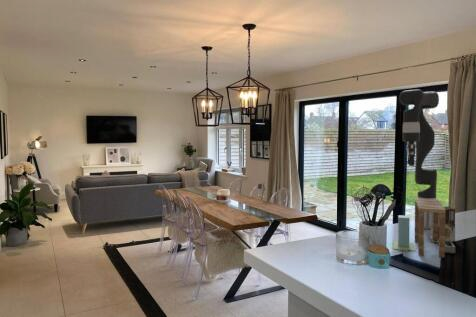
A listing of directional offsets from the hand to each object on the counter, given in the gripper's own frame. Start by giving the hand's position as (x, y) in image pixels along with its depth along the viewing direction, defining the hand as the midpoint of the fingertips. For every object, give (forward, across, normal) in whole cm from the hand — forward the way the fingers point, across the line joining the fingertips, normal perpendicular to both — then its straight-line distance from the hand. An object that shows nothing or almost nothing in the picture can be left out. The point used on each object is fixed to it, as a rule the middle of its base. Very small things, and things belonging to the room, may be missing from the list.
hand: (410, 164), depth 175 cm
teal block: (+38, -9, +3) cm, 39 cm away
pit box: (+38, -9, -15) cm, 42 cm away
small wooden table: (+38, -9, -7) cm, 40 cm away
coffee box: (+38, +8, -15) cm, 42 cm away
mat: (+38, -9, +3) cm, 39 cm away
